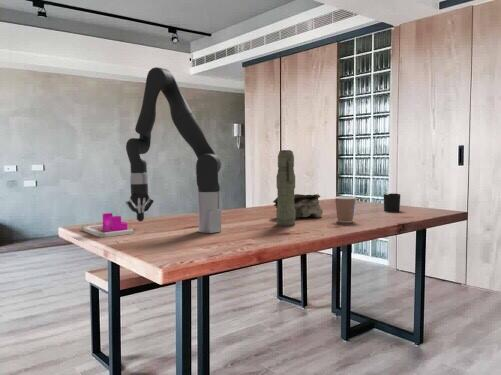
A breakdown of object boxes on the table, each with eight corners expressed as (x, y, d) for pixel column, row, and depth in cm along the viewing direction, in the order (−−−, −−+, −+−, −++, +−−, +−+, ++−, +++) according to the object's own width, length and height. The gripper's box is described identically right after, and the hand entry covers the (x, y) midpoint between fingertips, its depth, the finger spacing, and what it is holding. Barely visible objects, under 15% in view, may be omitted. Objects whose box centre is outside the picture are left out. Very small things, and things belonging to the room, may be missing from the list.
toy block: (127, 233, 177) (127, 216, 177) (112, 235, 174) (111, 217, 173) (117, 228, 190) (116, 212, 189) (102, 230, 186) (102, 213, 186)
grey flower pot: (357, 222, 202) (358, 198, 202) (336, 222, 203) (336, 198, 202) (353, 219, 213) (353, 196, 212) (332, 219, 213) (333, 196, 212)
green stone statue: (284, 227, 191) (284, 149, 189) (271, 223, 202) (271, 150, 199) (300, 225, 195) (300, 150, 193) (287, 222, 206) (287, 150, 203)
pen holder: (401, 212, 242) (401, 194, 242) (384, 211, 244) (384, 194, 243) (398, 210, 252) (398, 193, 251) (382, 209, 253) (382, 193, 253)
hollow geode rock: (274, 228, 218) (281, 209, 207) (268, 209, 226) (274, 190, 215) (323, 223, 226) (332, 205, 215) (315, 205, 234) (323, 187, 223)
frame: (133, 233, 176) (133, 230, 176) (100, 237, 167) (100, 233, 167) (112, 226, 194) (112, 223, 194) (81, 230, 185) (81, 226, 185)
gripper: (128, 183, 182) (129, 223, 183) (156, 182, 190) (157, 220, 191) (121, 183, 188) (123, 221, 189) (149, 182, 196) (150, 218, 197)
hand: (140, 221), depth 190 cm, fingers closed
